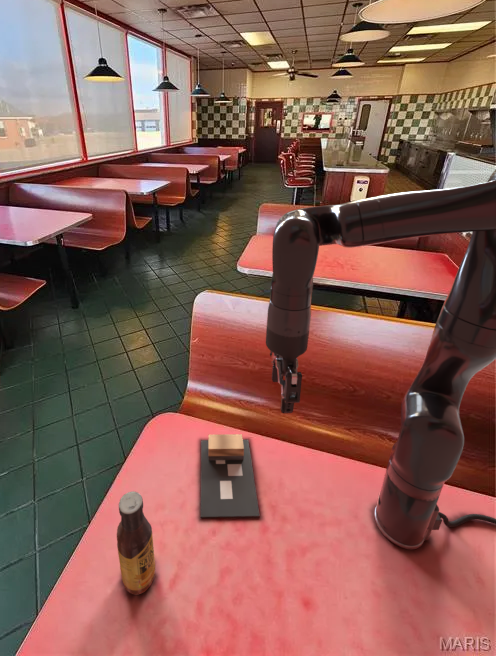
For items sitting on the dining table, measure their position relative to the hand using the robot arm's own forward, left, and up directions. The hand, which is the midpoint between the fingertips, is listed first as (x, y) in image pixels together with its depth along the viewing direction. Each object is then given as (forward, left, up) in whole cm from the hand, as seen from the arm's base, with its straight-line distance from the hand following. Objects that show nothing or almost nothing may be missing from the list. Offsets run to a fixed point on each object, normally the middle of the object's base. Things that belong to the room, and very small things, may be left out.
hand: (281, 395), depth 65 cm
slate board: (+10, -6, -30) cm, 32 cm away
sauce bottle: (+28, +14, -30) cm, 44 cm away
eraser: (+10, -12, -30) cm, 34 cm away
